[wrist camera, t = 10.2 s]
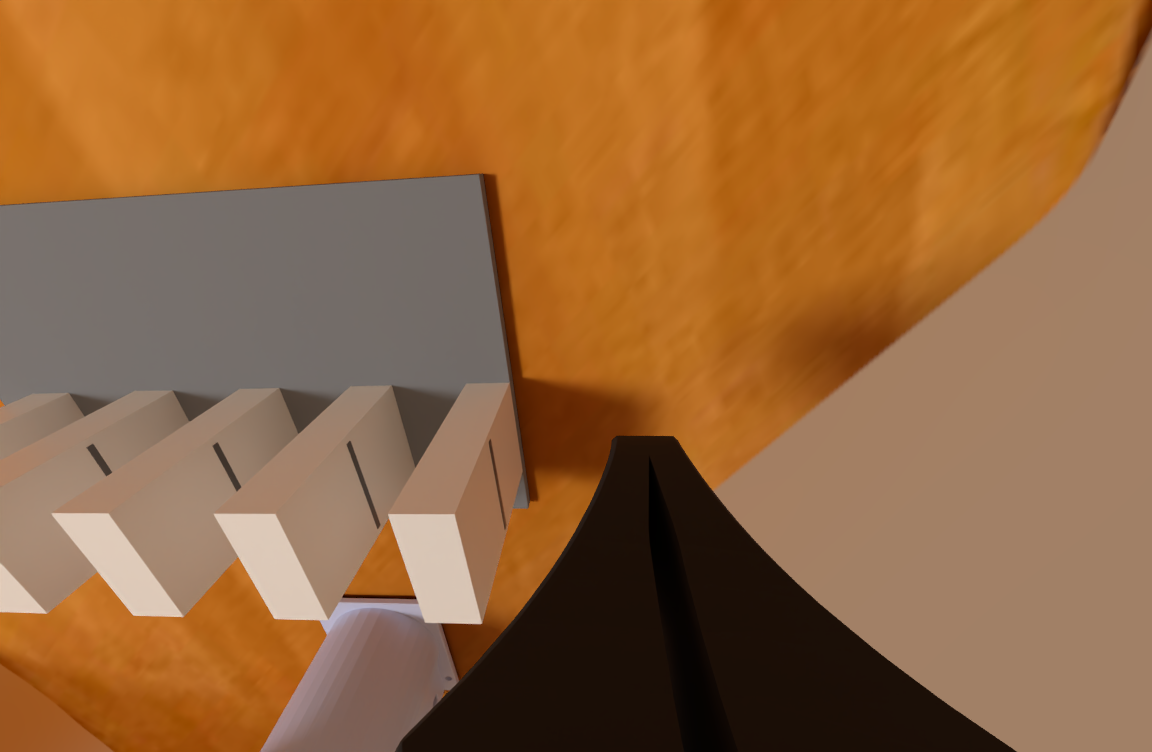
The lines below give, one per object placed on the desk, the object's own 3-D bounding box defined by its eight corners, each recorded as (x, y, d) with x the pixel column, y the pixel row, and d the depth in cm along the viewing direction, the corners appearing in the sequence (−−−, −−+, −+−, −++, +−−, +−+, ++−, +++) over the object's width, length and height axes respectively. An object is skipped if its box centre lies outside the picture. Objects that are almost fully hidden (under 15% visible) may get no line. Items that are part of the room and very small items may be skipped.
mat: (530, 500, 24) (528, 508, 23) (93, 500, 26) (82, 507, 25) (483, 173, 16) (479, 174, 16) (-119, 213, 19) (-140, 215, 18)
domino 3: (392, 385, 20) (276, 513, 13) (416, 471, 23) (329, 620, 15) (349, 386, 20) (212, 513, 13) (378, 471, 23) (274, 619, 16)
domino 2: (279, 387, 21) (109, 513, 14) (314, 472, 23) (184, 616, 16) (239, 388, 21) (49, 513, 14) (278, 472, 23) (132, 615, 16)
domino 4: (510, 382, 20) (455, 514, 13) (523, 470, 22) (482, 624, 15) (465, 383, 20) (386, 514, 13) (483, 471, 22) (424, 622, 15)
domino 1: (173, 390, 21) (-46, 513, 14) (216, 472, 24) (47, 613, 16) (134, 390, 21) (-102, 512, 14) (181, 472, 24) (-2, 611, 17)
